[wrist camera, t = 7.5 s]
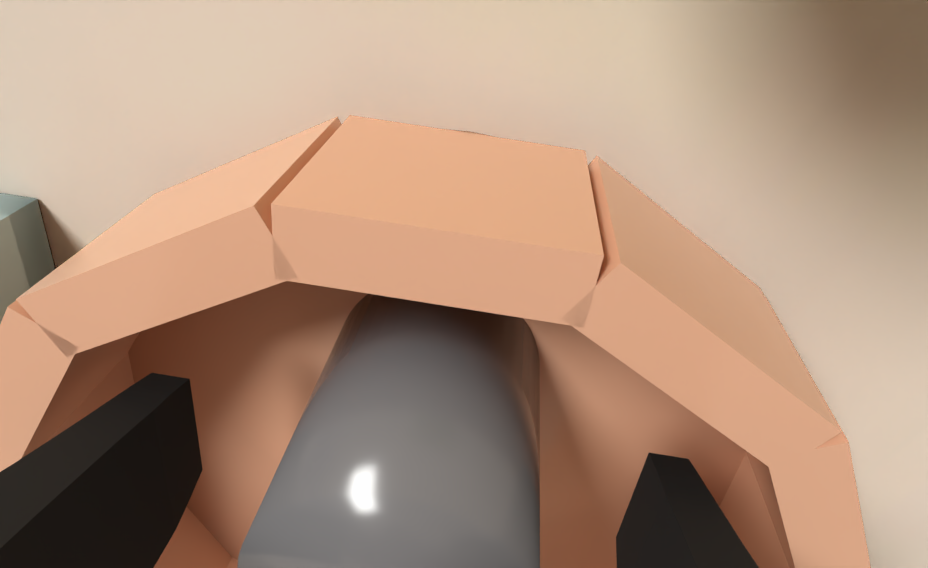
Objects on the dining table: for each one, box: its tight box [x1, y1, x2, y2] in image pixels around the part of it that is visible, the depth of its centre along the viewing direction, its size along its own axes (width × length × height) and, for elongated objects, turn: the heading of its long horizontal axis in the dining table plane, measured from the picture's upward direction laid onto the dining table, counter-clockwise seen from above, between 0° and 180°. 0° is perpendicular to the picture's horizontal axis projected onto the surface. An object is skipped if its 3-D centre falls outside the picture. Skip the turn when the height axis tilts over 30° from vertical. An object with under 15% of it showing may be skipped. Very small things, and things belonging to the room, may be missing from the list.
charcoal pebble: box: [237, 294, 540, 568], centre depth 10 cm, size 4×4×5 cm
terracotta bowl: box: [0, 115, 871, 568], centre depth 13 cm, size 15×15×4 cm
